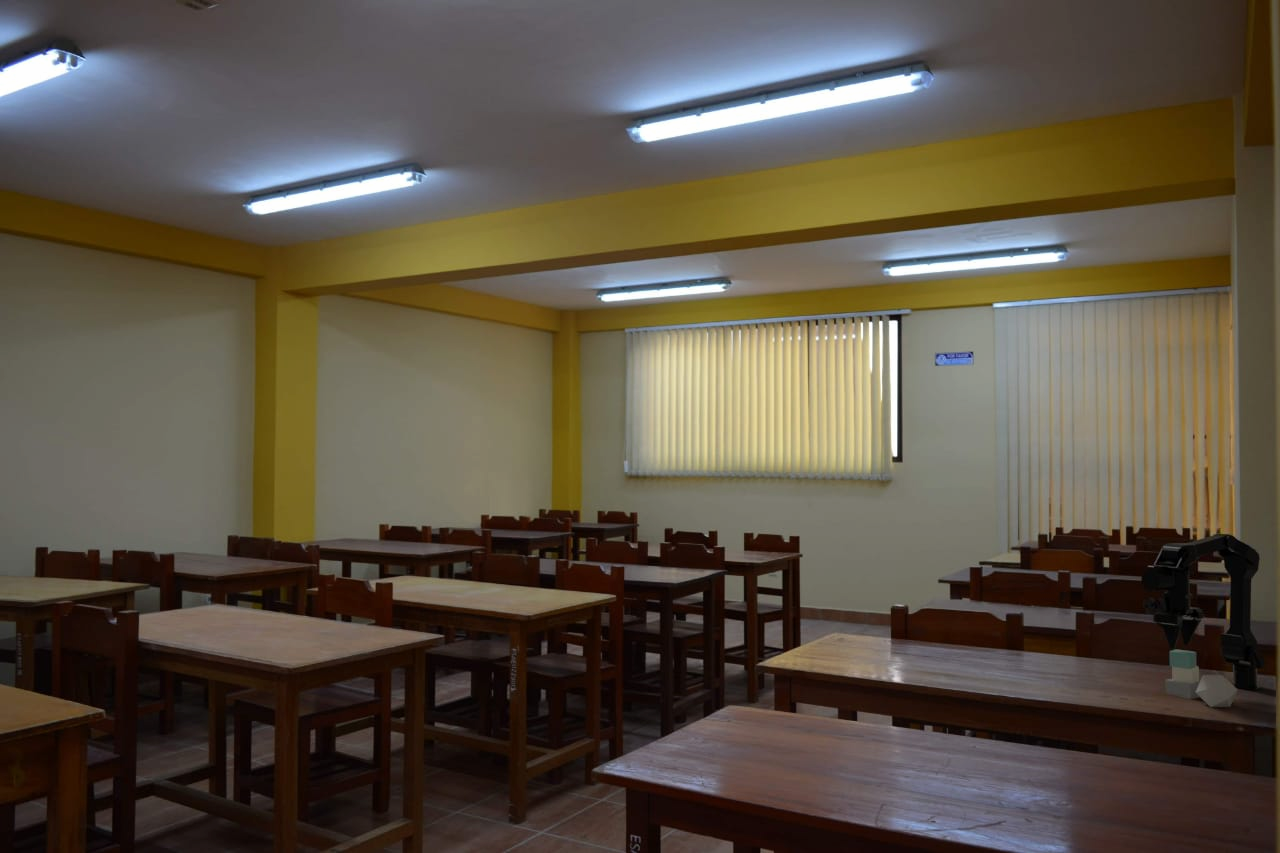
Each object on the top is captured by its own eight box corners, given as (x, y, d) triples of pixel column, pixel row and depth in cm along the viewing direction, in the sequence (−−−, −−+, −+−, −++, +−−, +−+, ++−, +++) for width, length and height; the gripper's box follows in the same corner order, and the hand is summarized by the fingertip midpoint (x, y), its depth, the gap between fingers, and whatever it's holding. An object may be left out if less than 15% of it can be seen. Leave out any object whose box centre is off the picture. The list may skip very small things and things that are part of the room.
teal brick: (1176, 663, 258) (1176, 649, 258) (1196, 666, 254) (1196, 651, 254) (1169, 666, 254) (1169, 651, 255) (1189, 669, 251) (1189, 654, 251)
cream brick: (1179, 678, 258) (1178, 663, 258) (1199, 681, 254) (1198, 666, 254) (1172, 680, 254) (1172, 666, 255) (1192, 683, 251) (1192, 669, 251)
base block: (1181, 691, 258) (1181, 677, 259) (1206, 697, 252) (1206, 682, 252) (1165, 694, 255) (1165, 679, 256) (1190, 700, 249) (1190, 684, 249)
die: (1236, 714, 236) (1247, 681, 239) (1203, 696, 237) (1215, 663, 241) (1217, 718, 243) (1228, 686, 247) (1185, 700, 245) (1197, 668, 248)
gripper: (1161, 584, 268) (1162, 638, 267) (1132, 589, 256) (1133, 646, 255) (1203, 588, 259) (1204, 644, 258) (1175, 593, 247) (1177, 652, 247)
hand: (1179, 646), depth 255 cm, fingers open, 9 cm apart
